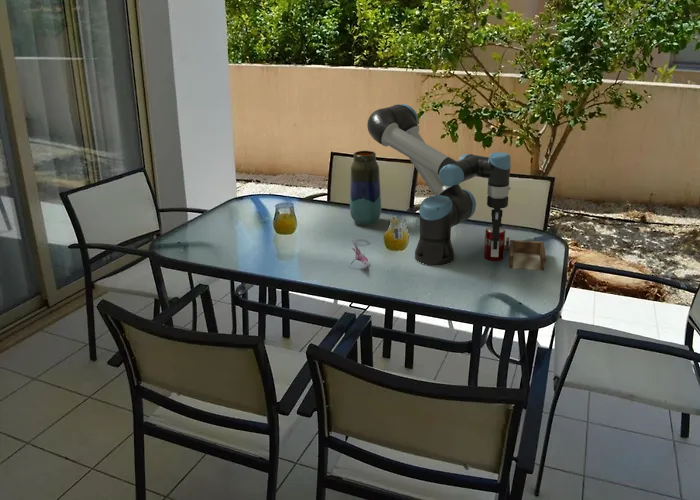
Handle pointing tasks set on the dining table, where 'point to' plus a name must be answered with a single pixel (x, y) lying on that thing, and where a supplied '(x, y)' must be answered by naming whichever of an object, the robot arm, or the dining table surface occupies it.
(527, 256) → the end holder
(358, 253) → the lily
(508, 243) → the clip
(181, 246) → the dining table surface
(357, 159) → the vase
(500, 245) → the soda can
